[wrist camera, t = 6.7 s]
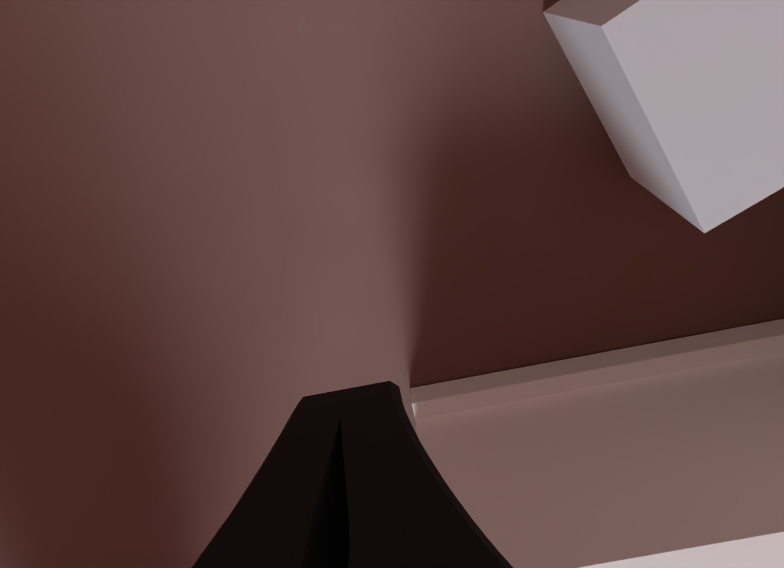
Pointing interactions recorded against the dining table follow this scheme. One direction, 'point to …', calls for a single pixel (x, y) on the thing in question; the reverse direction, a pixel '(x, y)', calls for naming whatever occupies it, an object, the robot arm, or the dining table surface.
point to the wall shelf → (622, 454)
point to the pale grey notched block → (685, 95)
